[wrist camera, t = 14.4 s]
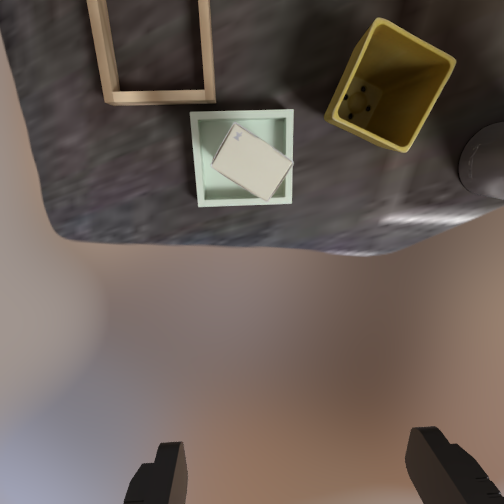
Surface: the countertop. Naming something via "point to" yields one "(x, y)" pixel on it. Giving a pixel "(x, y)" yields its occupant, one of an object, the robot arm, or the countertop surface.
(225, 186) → the parts tray
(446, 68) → the flower pot
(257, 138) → the skincare box
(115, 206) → the countertop surface
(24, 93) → the countertop surface
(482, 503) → the robot arm
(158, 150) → the countertop surface
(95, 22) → the frame
